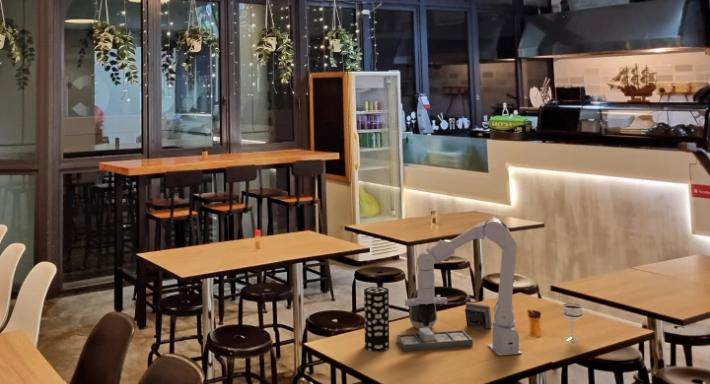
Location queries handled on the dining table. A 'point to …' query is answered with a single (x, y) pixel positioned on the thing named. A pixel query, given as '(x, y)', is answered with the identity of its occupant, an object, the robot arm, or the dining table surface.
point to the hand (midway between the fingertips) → (426, 325)
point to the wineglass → (572, 316)
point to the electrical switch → (478, 315)
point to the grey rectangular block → (426, 335)
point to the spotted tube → (376, 318)
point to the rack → (435, 341)
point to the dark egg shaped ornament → (417, 318)
